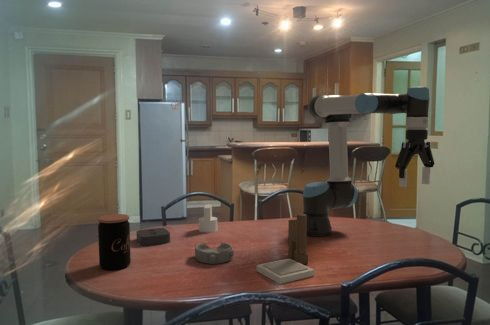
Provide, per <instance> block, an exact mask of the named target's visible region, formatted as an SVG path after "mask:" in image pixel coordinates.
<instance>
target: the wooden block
mask: <svg viewBox="0 0 490 325" xmlns="http://www.w3.org/2000/svg"><path fill="white" fill-rule="evenodd" d="M287 230H288V234H287V236H288V253H287V254H288V257H289V259H292V260H294V261H296V262H298V263H300V264H303V265H308V264H309V254H308V253H307V236H308V235H307V215H306V214H303V213H297V214H296V219H288V229H287Z"/></svg>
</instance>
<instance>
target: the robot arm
mask: <svg viewBox="0 0 490 325" xmlns="http://www.w3.org/2000/svg"><path fill="white" fill-rule="evenodd" d="M429 109H430V89H429V87H427V86H411V87H408V88H407V92H406V93H373V92H362V93H359V94H349V95H342V94H336V95H335V94H318V95H317V94H316V95H315V96H312V98H311V99H310V100H309V101H308V104H307V111H308V113H309V114H310V116H311V117H312V118H314V119H316V120H321V121H323V120H324V125H325V126H327V128H328V150H329V151H328V153H329V155H328V156H329V157H328V158H329V178H328V179H327V180H326V181H315V182H309V183H307V184H305V185H304V186H303V193H302V196H303V197H302V199H303V201H302V202H303V204H302V212H303V213H302V214H306V215H307V236H308V237H309V236H310V237H326V236H331V235H332V234H333V228H332V227H333V226H332V225H331V221H330V217H329V210H333V209H345V208H350V207H352V206H354V204H355V203H356V202H357V199H358V195H359V194H358V189H357V187H356V185H355V184H354V183H352V182H353V180H352V178H350V176H349V156H348V132H347V130H348V128H347V127H348V125H349V124H350V123H351V121H350V120H352V119H353V117H354V114H355V115H356V114H357V115H358V114H389V115H396V114H406V120H405V128H406V130H405V139H406V140H407V142H406V141H404V142H403V141H402V142H401V147H400V151H399V153H398V156H397V159H396V162H395V165H394V167H395V169H397V170H398V171H399V172H398V180H399V182H398V187H401V188H408V169H407V168H408V166H409V164H410V162H411V160H412V159H413V157H414V156H415V155H418V157H419V159H420V161H421V163H422V164H423V167H422V168H421V169H422V175H421V184H423V185H430V180H431V177H430V175H431V168H434V165H435V159H434V156H433V153H432V148H431V142H430V141H426V140H428V134H429V130H428V127H429Z"/></svg>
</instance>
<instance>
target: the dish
mask: <svg viewBox="0 0 490 325" xmlns="http://www.w3.org/2000/svg"><path fill="white" fill-rule="evenodd" d="M234 253H235V251H234V249H233V247H232V245H231V244H230V243H226V242H221V243H220V244H219V246H218V247H210V246H208V244H206V243H205V242H201V243H198V244H196V245H195V246H194V255H195V259H196V261H198V262H200V263H204V264H208V265H209V264H210V265H212V264H213V265H217V264H224V263H227V262H229V261H231V260H232V258H233V256H234V255H235V254H234Z"/></svg>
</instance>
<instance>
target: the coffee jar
mask: <svg viewBox="0 0 490 325" xmlns="http://www.w3.org/2000/svg"><path fill="white" fill-rule="evenodd" d="M129 220H130V215H129V214H124V213H113V214H105V215H101V216H99V217H98V218H97V221H98V223H99V224H98V225H97V232H98V233H97V234H98V236H97V237H98V257H99V258H98V260H99V262H98V264H99V267H100V268H101V269H102V271H103V270H104V271H109V272H110V271H113V272H114V271H120V270H124V269H126V268H128V267H129V265H131V260H132V258H131V235H130V234H131V231H130V228H131V227H130V221H129Z"/></svg>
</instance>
